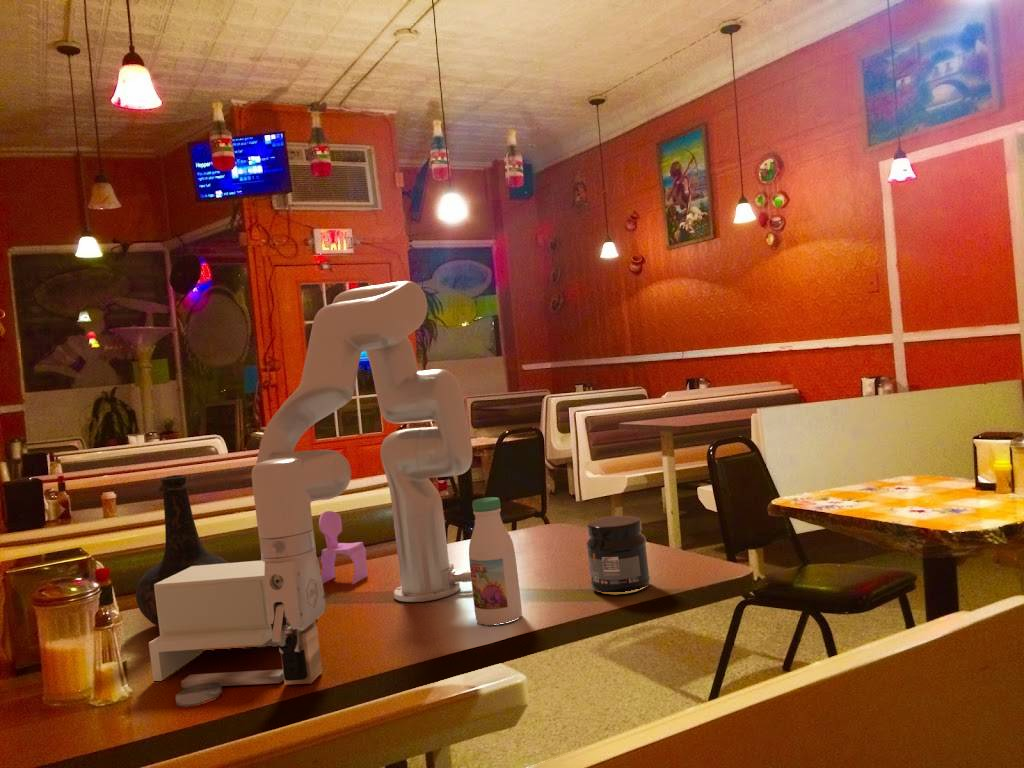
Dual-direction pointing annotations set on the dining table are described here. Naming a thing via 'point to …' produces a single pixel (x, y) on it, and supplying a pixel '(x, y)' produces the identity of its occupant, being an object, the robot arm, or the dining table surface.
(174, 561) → the glass bottle
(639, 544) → the supplement container
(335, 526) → the toy chair
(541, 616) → the dining table surface
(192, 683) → the tool
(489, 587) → the milk bottle
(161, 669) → the white box on stand
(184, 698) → the token
